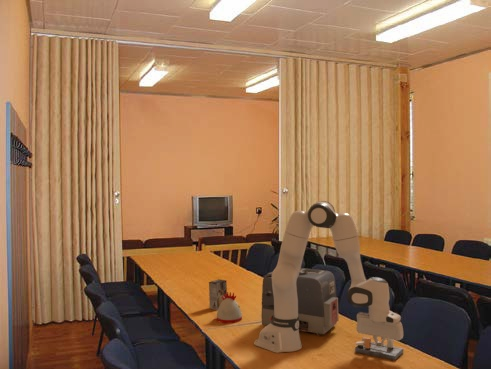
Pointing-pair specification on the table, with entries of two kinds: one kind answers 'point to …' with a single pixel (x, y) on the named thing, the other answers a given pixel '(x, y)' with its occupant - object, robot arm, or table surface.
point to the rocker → (360, 343)
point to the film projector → (307, 300)
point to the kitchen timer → (229, 310)
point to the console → (380, 351)
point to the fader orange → (367, 342)
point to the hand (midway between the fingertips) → (379, 346)
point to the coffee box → (217, 293)
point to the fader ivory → (389, 343)
